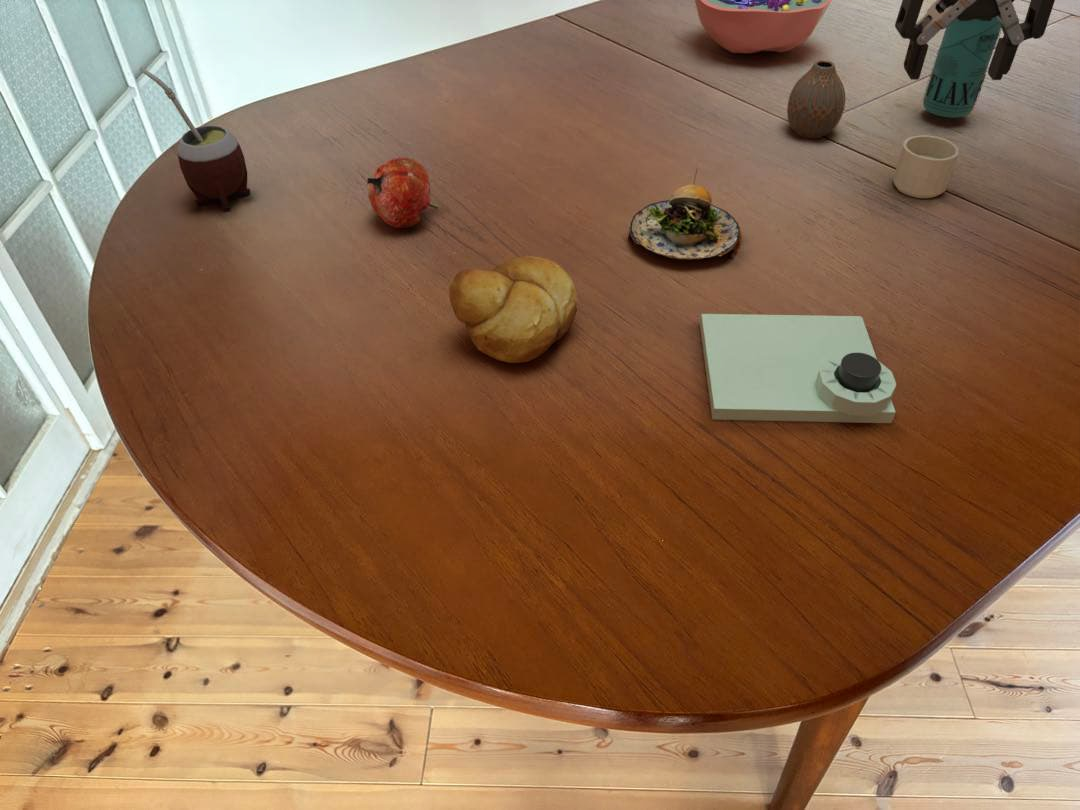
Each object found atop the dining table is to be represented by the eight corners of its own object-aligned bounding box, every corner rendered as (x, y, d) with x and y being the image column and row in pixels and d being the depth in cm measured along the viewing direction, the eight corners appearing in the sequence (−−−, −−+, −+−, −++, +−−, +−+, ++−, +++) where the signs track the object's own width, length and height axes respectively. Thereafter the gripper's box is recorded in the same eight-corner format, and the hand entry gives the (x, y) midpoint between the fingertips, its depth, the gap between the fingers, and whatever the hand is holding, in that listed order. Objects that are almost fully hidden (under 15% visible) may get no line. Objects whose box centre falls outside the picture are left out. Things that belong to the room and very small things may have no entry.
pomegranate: (413, 214, 102) (339, 185, 96) (445, 164, 99) (372, 130, 92) (432, 251, 98) (357, 223, 91) (467, 201, 95) (391, 168, 88)
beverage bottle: (908, 118, 113) (956, -47, 99) (934, 102, 116) (984, -60, 102) (954, 134, 109) (1011, -35, 95) (980, 117, 112) (1038, -48, 99)
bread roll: (535, 282, 88) (532, 214, 82) (609, 320, 83) (612, 250, 78) (443, 343, 81) (434, 273, 76) (518, 388, 76) (514, 317, 71)
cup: (937, 174, 102) (950, 135, 99) (951, 200, 98) (965, 160, 94) (886, 174, 102) (897, 135, 99) (898, 200, 98) (911, 159, 95)
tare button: (871, 368, 73) (876, 352, 72) (880, 393, 71) (885, 377, 70) (833, 367, 74) (838, 351, 72) (840, 392, 71) (845, 377, 70)
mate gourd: (258, 206, 100) (223, 80, 90) (189, 221, 98) (144, 94, 87) (248, 177, 105) (213, 54, 95) (182, 191, 103) (139, 67, 92)
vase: (804, 148, 107) (819, 79, 101) (772, 125, 112) (784, 58, 106) (849, 137, 109) (866, 68, 103) (815, 115, 114) (829, 48, 108)
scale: (858, 327, 82) (866, 302, 80) (893, 428, 72) (903, 402, 70) (699, 325, 82) (703, 299, 80) (712, 424, 73) (717, 399, 71)
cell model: (811, 80, 122) (828, -4, 114) (674, 62, 127) (681, -19, 120) (827, 36, 133) (843, -42, 125) (700, 22, 139) (708, -54, 131)
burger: (606, 245, 93) (609, 183, 87) (669, 201, 99) (675, 140, 94) (700, 287, 87) (709, 222, 82) (760, 237, 93) (772, 174, 88)
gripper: (941, -83, 77) (893, 92, 89) (1103, -85, 77) (1034, 92, 88) (918, -105, 83) (876, 62, 94) (1070, -107, 82) (1009, 63, 93)
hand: (953, 77), depth 91 cm, fingers open, 8 cm apart
